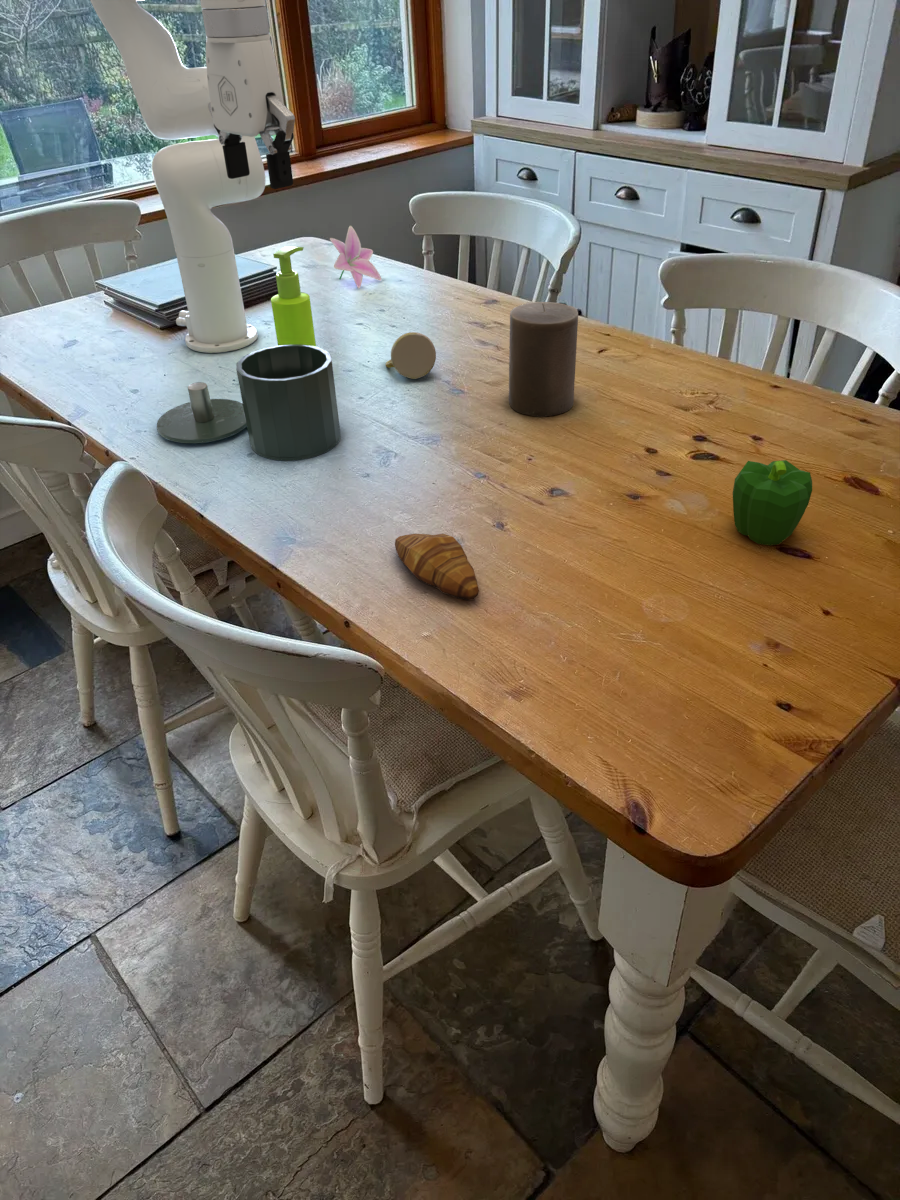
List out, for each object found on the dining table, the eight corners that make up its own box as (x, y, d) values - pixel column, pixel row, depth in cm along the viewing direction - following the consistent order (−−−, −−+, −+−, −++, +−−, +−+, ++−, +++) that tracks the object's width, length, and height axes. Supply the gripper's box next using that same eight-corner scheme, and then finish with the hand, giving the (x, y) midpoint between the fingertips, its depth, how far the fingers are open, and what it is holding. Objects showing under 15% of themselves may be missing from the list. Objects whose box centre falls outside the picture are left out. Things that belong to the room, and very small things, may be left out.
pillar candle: (530, 422, 125) (533, 319, 116) (496, 398, 132) (496, 299, 123) (586, 407, 129) (593, 306, 120) (550, 384, 136) (554, 287, 127)
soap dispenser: (330, 372, 142) (314, 245, 130) (307, 388, 137) (289, 258, 125) (299, 367, 144) (281, 241, 132) (276, 383, 140) (255, 254, 127)
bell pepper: (736, 508, 105) (750, 432, 99) (806, 524, 102) (826, 447, 96) (715, 542, 100) (729, 464, 94) (789, 561, 96) (809, 481, 90)
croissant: (500, 590, 93) (500, 552, 90) (451, 616, 90) (449, 577, 87) (423, 538, 102) (421, 502, 99) (376, 560, 99) (372, 523, 96)
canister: (237, 458, 120) (221, 378, 113) (269, 417, 130) (256, 342, 123) (325, 463, 118) (314, 383, 111) (350, 422, 127) (342, 345, 121)
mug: (430, 356, 147) (442, 314, 138) (426, 402, 143) (437, 361, 134) (387, 347, 146) (396, 304, 137) (380, 393, 142) (389, 352, 133)
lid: (142, 444, 124) (131, 403, 120) (182, 404, 134) (173, 365, 131) (232, 449, 122) (223, 408, 118) (265, 408, 132) (259, 369, 128)
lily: (327, 298, 175) (343, 257, 169) (308, 261, 180) (323, 220, 174) (378, 305, 182) (396, 266, 176) (358, 269, 187) (375, 230, 181)
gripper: (171, 26, 107) (199, 178, 117) (252, 31, 97) (275, 196, 107) (223, 21, 111) (246, 168, 121) (306, 25, 101) (323, 185, 111)
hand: (260, 181), depth 114 cm, fingers open, 9 cm apart
